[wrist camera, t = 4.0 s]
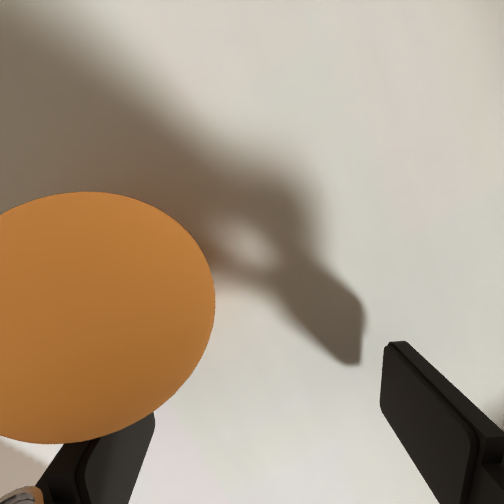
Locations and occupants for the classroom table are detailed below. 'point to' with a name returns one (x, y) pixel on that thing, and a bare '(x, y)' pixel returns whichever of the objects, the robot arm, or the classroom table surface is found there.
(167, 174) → the classroom table surface
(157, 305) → the ball
